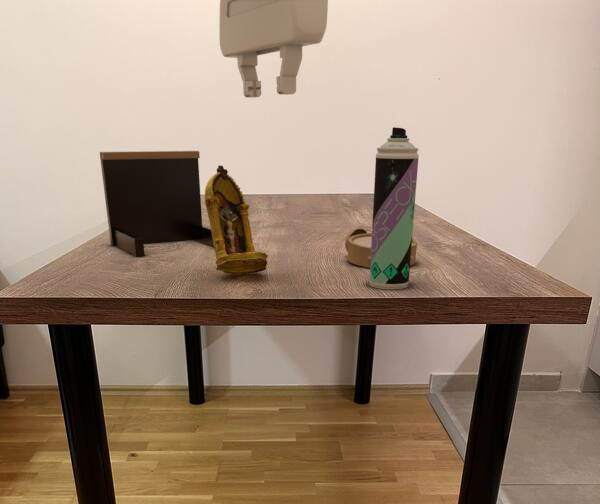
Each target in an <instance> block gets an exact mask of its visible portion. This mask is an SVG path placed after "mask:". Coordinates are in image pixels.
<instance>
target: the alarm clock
mask: <svg viewBox="0 0 600 504" xmlns="http://www.w3.org/2000/svg"><path fill="white" fill-rule="evenodd" d="M371 242H372V232H367V231H366V230H365V229H363V228H354V229H352V230H351V231H349V232H348V234H347V235H346V237H345V241H344V246H345V250H346V252H347V258H346V259H347V262H349V263H351V264H354V265H356V266H359V267H363V268H368V269H370V262H371ZM417 248H418V240H417V239H415V238H413V237H412V247H411V260H410V267H411V266H413V265H414V264H416V260H417V259H416V258H417Z"/></svg>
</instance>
